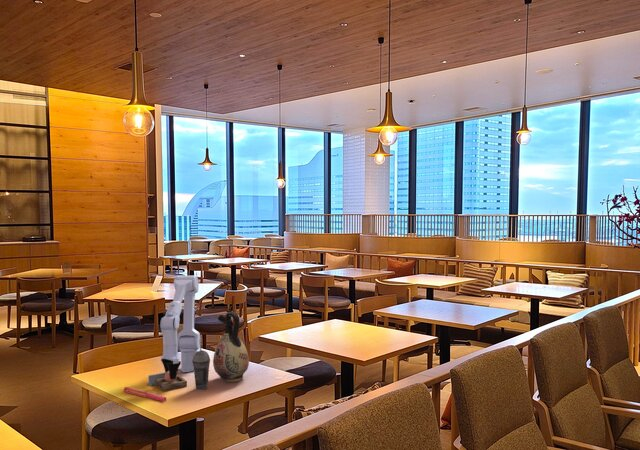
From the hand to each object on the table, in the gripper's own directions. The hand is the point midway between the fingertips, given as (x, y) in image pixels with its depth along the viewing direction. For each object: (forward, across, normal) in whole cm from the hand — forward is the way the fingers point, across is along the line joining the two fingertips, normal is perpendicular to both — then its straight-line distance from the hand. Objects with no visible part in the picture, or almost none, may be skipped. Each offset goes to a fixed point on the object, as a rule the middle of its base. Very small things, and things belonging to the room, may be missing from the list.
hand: (171, 377), depth 206 cm
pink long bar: (+4, +6, -12) cm, 14 cm away
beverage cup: (+4, +12, +9) cm, 15 cm away
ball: (+2, 0, 0) cm, 2 cm away
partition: (+4, -6, -2) cm, 8 cm away
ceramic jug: (+4, +8, +24) cm, 26 cm away
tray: (+4, 0, 0) cm, 4 cm away
